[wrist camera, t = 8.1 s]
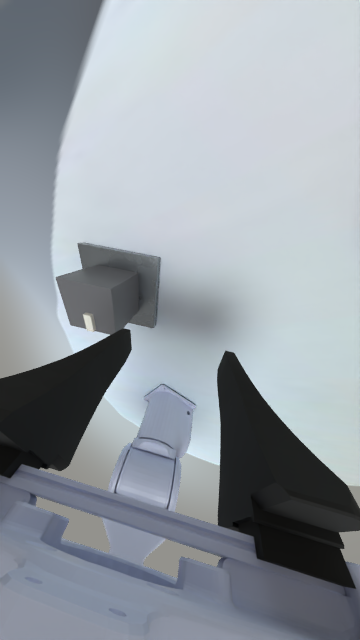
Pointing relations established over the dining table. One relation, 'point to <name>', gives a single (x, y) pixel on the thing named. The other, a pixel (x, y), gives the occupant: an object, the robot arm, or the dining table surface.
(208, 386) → the dining table surface
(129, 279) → the grey cube with tab
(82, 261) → the plate
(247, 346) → the dining table surface
